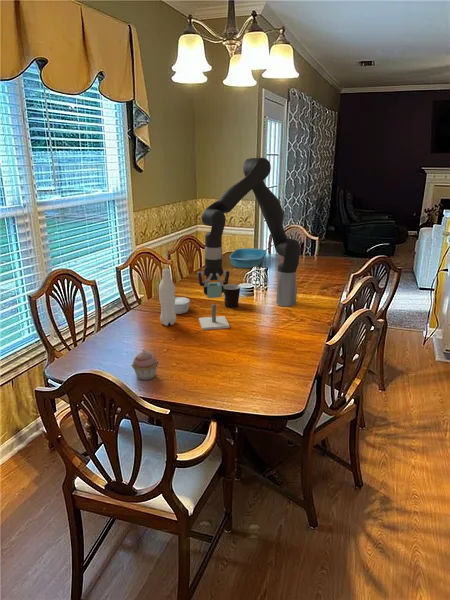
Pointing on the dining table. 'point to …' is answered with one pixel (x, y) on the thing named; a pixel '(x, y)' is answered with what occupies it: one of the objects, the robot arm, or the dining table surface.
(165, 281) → the water bottle
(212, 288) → the collar
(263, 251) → the casserole dish
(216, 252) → the robot arm
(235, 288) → the coffee mug
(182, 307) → the ramekin
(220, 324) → the post stand
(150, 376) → the cupcake
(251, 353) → the dining table surface
